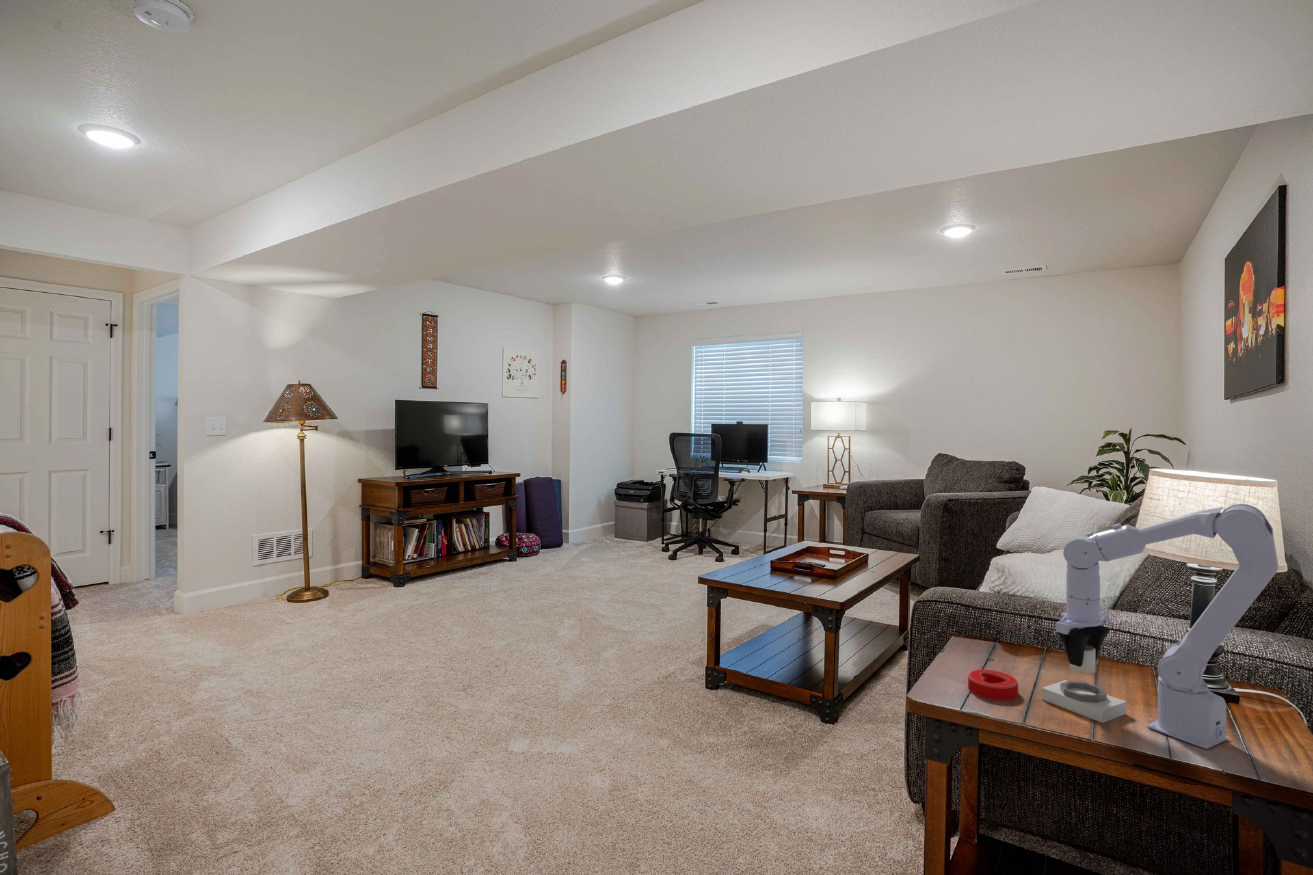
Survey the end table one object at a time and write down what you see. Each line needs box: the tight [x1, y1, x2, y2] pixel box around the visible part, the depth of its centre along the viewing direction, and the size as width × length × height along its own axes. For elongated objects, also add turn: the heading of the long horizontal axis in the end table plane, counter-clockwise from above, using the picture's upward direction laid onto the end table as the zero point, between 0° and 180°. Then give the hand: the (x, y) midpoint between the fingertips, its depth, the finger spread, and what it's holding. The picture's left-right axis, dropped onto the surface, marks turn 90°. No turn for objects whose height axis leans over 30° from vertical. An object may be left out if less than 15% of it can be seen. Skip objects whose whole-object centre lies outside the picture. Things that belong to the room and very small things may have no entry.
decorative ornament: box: [967, 669, 1019, 701], centre depth 140 cm, size 10×10×3 cm
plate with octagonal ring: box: [1041, 679, 1127, 724], centre depth 132 cm, size 12×8×4 cm, turn 26°
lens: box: [1069, 643, 1096, 675], centre depth 132 cm, size 4×4×5 cm
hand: (1082, 662), depth 132 cm, fingers closed on lens, 4 cm apart
